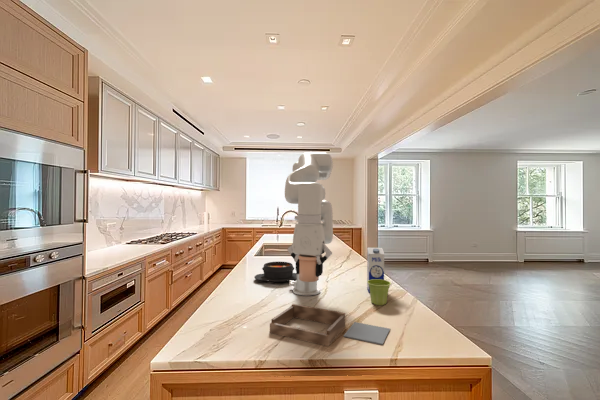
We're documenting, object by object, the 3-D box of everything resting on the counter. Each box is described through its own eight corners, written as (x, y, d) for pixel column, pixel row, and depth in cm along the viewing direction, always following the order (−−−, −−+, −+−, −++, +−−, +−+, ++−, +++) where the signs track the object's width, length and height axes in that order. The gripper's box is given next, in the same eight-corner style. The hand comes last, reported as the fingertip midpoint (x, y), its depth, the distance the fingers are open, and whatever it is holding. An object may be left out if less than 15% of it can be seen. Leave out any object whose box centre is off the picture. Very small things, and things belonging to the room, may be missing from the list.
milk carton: (381, 289, 149) (382, 247, 149) (384, 293, 142) (384, 249, 142) (366, 288, 149) (367, 247, 149) (368, 293, 143) (368, 249, 143)
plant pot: (391, 307, 124) (391, 286, 124) (367, 306, 125) (367, 284, 125) (389, 300, 133) (389, 279, 133) (367, 298, 135) (367, 278, 135)
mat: (343, 336, 97) (343, 335, 97) (354, 323, 108) (354, 321, 108) (382, 345, 92) (382, 343, 92) (390, 329, 103) (390, 328, 103)
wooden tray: (269, 332, 100) (269, 318, 100) (292, 315, 114) (292, 303, 114) (328, 346, 91) (328, 330, 91) (345, 326, 105) (345, 312, 105)
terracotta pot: (294, 280, 101) (294, 256, 101) (303, 275, 107) (304, 252, 107) (314, 283, 98) (314, 258, 98) (322, 277, 104) (322, 254, 104)
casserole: (298, 275, 176) (298, 260, 175) (304, 284, 157) (305, 267, 157) (253, 276, 171) (253, 261, 171) (254, 286, 153) (254, 268, 153)
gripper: (280, 219, 103) (280, 273, 103) (330, 222, 95) (329, 280, 96) (291, 218, 110) (291, 269, 110) (338, 220, 102) (337, 275, 102)
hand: (308, 273), depth 103 cm, fingers closed on terracotta pot, 6 cm apart
